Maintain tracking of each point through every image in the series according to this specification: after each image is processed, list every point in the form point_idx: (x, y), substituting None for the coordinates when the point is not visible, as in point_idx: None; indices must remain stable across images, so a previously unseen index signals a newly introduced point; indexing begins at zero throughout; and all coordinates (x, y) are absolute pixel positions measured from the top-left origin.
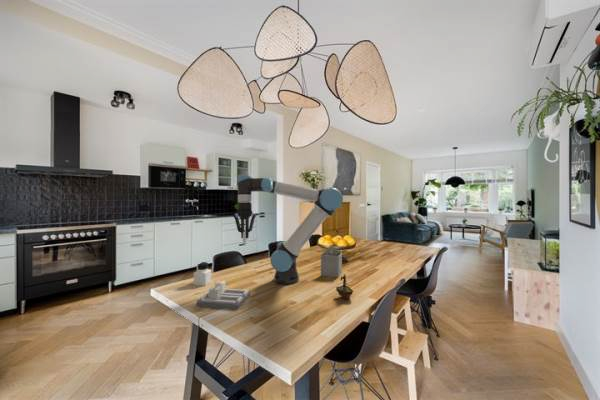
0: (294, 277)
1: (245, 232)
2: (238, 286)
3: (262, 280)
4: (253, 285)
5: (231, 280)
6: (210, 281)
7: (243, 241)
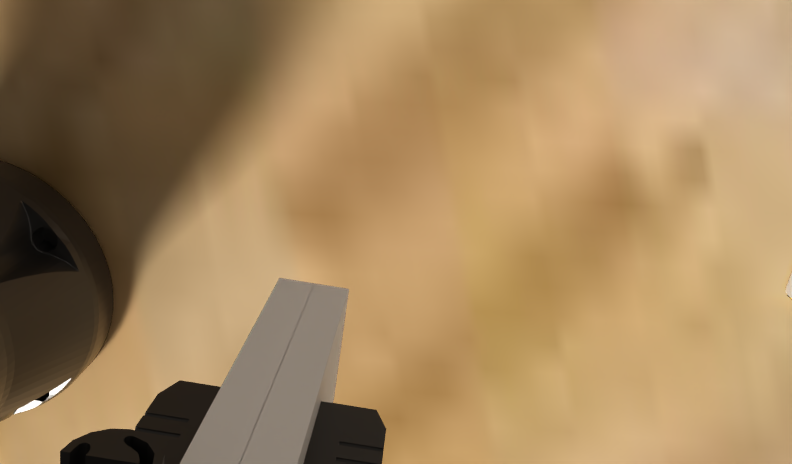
0: None
1: (152, 447)
2: (458, 130)
3: (232, 288)
4: (302, 150)
5: (562, 311)
6: (790, 278)
7: (321, 322)
